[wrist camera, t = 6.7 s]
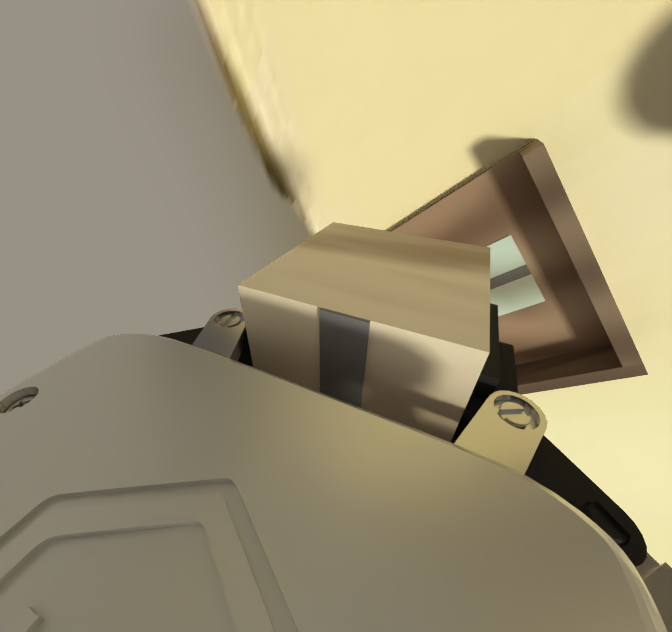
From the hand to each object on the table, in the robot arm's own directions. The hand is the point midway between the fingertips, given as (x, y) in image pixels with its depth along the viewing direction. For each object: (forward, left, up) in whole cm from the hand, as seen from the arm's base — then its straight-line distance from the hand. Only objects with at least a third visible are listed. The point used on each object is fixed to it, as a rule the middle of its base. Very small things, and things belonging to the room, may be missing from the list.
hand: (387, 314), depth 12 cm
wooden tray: (+10, 0, -18) cm, 21 cm away
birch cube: (0, 0, -1) cm, 1 cm away
